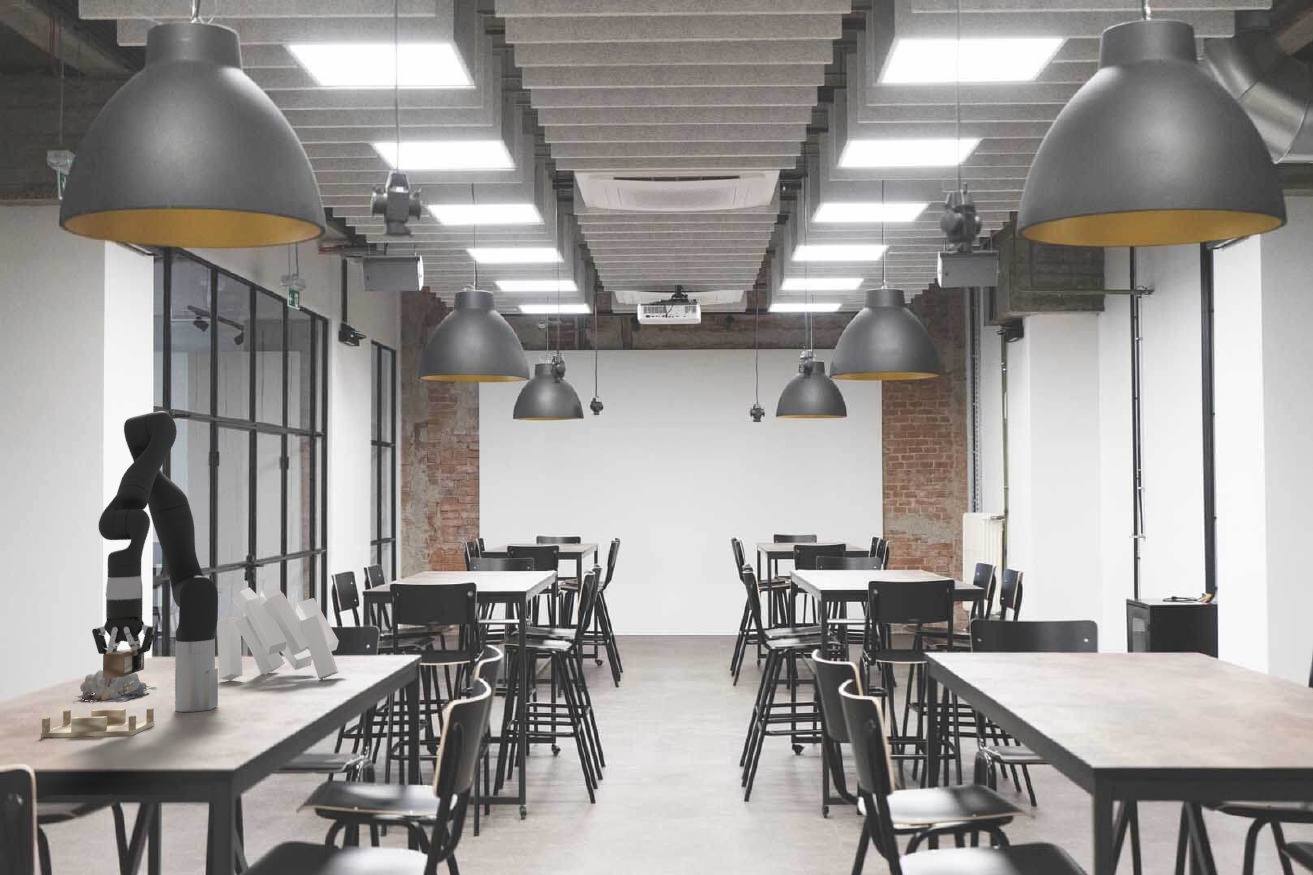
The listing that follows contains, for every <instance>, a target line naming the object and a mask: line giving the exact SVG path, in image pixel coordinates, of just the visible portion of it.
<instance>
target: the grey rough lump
mask: <svg viewBox="0 0 1313 875" xmlns="http://www.w3.org/2000/svg"><path fill="white" fill-rule="evenodd" d="M79 689H80V692H82V694H81V695H78V696H77V695H76V696H75V697H78V698H77V699H78V700H77V699H76V700H74V701H73V702H81V703H91V702H93V703H95V702H94V701H91V702H90V701H85V700H99V701H98V702H104V703H114V702H115V703H122V702H127V701H130V700H131V699H136V698H138V697H143V696H144V697H145V696H147V695H149V694H150V692H149V691H148V690H153V691H155V690H157V686H150V685H147V683H145V682H142V681H140V679H139V674H138V672H135V673H132V674H130V675H127V676H124V677H107V678H103V669H100V670H97V671H96V672H95V674H87V675H86V676H85V678H84V681H83V682H82V683H81V684H80V687H79ZM91 693H95V694H91ZM81 698H82V699H84V700H82V699H81Z"/></svg>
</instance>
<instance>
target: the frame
mask: <svg viewBox="0 0 1313 875" xmlns="http://www.w3.org/2000/svg"><path fill="white" fill-rule="evenodd" d="M132 656H133V654H132V650H131V647H126V648H123V649H117V651H115V652H111V653H108V654H102V671H103V678H107V677H124V676H127V675H130V674H132V673H136V672H132ZM143 670H145V653H143V654H142V655H141V668H140V669H139V671H138V672H141V671H143Z"/></svg>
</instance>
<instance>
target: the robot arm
mask: <svg viewBox="0 0 1313 875" xmlns="http://www.w3.org/2000/svg"><path fill="white" fill-rule="evenodd" d="M177 432H178V431H177V425H176V422H175V420H174V418H173V417H172V416H171V414H170V413H169V412H167V411H165V410H164V411H163V410H159V411H153V412H152V411H151V412H148V413H144V414H139V415H137V416H132V417H128V418H127V419H126V420H125V421H124V425H123V434H124V438H125V442H126V445H127V448H128V450H129V452H130V455H131V458H132V461H133V462H132V464H131V465H129V467H128V468H127V469H126V471H125V472H124V473H123V475H122V477H121V479H120V482H119V486H118V489H117V492H116V495H115V496H114V497H113V499H111V501H110V502H109V504H108V505H107V506H106V507H105V509H104V510H103V512H102V514H101V515H100V517H99V521H98V531H99V534H100V536H101V537H102V538H104V539H105V540H108V541H129V540H130V542H129V544H128V546H127V547H126V548H123V549H120V550H115V551H112V552H110V553H109V554H108V556H107V581H106V587H105V588H106V590H105V591H106V592H105V597H106V598H105V601H106V602H105V606H106V608H105V618H106V621H105V623H104V624H103V626H101V627H95V628H93V629H91V632H92V637H93V639H94V643H95V646H96V649H97V651H98V652H97V653H98V654H99V655H104V654H108V653H111V652H115V651H118V649H119V648H118V647H119V646H120V644H121V642H125V643H127V644H128V646H129V648H131V650H132V654H133V656H132V672H135V673H138V672H140V671H139V669H140V668H141V655H142V654H143V653H144V654H145V653H147V652H150V650H151V648H152V644H153V640H154V638H155V634H156V631H157V627H156V626H155V625H153V626H151V625H147V624H145V623H144V621H143V579H142V556H143V551H144V547H145V544H146V541H147V537H148V534H149V531H150V527H151V520H152V524H153V527H154V530H155V533H156V536H157V540H158V543H159V545H160V547H161V551H162V553H163V556H164V559H165V561H166V562H165V563H166V565H167V570H168V575H169V582H170V587H171V588H170V589H171V594H172V598H173V601H174V603H175V605H176V606H177V607H178V609H179V610H178V613H179V614H178V624H177V628H176V629H175V651H174V652H175V657H174V659H175V660H174V661H175V665H174V668H175V669H174V671H175V672H174V673H175V674H174V678H175V680H174V682H175V683H174V684H175V686H174V688H175V690H174V692H175V693H174V696H175V698H174V699H175V700H174V704H175V705H174V706H175V708H174V710H175V712H183V713H184V712H185V713H190V712H192V713H193V712H203V711H211V710H212V709H214V708H216V707H218V706H219V705H218V704H219V703H218V702H219V697H218V695H219V686H218V685H219V682H218V681H219V668H216V639H215V638H216V632H217V621H219V619H218V615H219V613H218V612H219V594H218V589H217V588H218V587H217V586H216V584H215V582H214V581H213V580H212V579H211V578H208V577H206V576H204V574H203V570H202V568H201V566H200V563H199V560H198V557H197V552H196V542H195V541H196V534H195V522H194V518H193V513H192V510H191V507H190V504H189V499H188V497H187V495H186V494H185V493H184V491H183V490H182V489H181V488H180V487H179V486H178V485H177V484H176V483H174V482H173V481H172V480H171V479H170V478H168V477H167V475H165V473H164V472H163V471H162V470H161V467H162V466H163V464H164V463H165V461H166V458H167V457H168V455H169V453H170V452H171V449H172V448H173V446H174V444H175V442H176V438H177V434H178V433H177ZM147 506H148V510H149V513H150V515H149V514H148V513H147V511H146V510H145V509H146V508H147ZM149 516H150V517H151V519H150V517H149ZM142 631H143V632H142ZM106 632H107V634H108V636H109V641H108V643H107V642H106V637H105V636H106ZM141 632H142V634H143V635H144V637H143V640H142V643H141V640H140V637H139V635H140V633H141Z"/></svg>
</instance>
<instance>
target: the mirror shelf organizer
mask: <svg viewBox="0 0 1313 875" xmlns="http://www.w3.org/2000/svg"><path fill="white" fill-rule="evenodd" d="M126 711H127V709H126V708H113V709H112V708H107V709H105V708H104V709H103V708H102V709H101V708H100V709H93V710H91V711H90V712H91V714H90V715H91V716H75V717H72V714H71V713H72V710H71V709H67V710H63V712H62V716H63V717H62V724H61V725H59V726H56V727H54V728H51V717H43V718H42V719H41V732H40V738H41V737H53V738H83V737H82V736H94V737H115V736H116V737H121V736H123V737H125V736H126V737H127V736H128V737H130V736H131V737H133V736H134V735H136V734H139V733H141V732H143V731H145V730H148V729H149V728H152V727H154V726H155V720H154V711H155V710H154V707H151V708H146V720H137V715H130V716H128V721H126V720H127V719H126V717H127V716H126V715H127V714H126V713H127V712H126Z"/></svg>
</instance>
